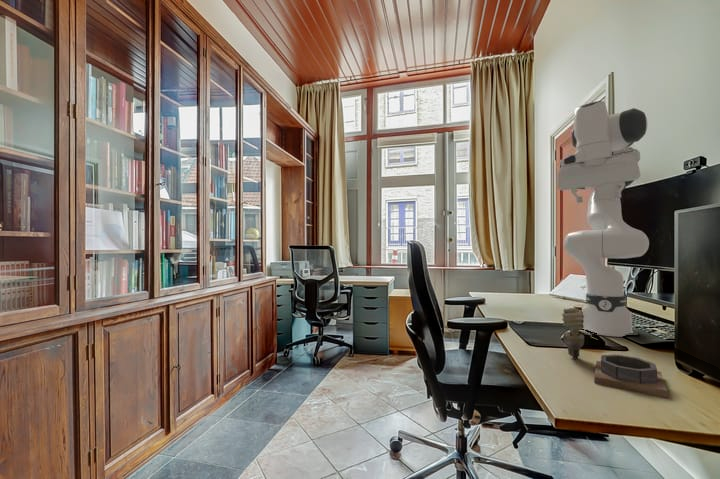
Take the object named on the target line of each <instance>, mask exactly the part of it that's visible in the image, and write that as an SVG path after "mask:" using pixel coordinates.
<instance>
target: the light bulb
mask: <svg viewBox="0 0 720 479" xmlns="http://www.w3.org/2000/svg"><path fill="white" fill-rule="evenodd" d="M561 315H562V319H561V320H562V321H563V323H562V325H563V327H567V328H568V329H569V331H565V332H563V334H562V336H563V337H562V338H563V343H564V345H565V346H566V348H567V350H568V355H569V356H571V357H572V358H573V359H578V358H579V357H580V350H581V348H582V347H583V346H584V345H585V336H584V335H583V334H582V333H579V331H581V329H583V327H584V325H583V323H584V320H583V319H584V315H583V312H582V309H578V308H576V307H571V308H563V312H562V314H561Z"/></svg>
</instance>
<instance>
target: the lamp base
mask: <svg viewBox="0 0 720 479" xmlns="http://www.w3.org/2000/svg"><path fill="white" fill-rule="evenodd" d="M600 356H601V357H600V360H599V361H598V360H596V363H595V371H594V384H599V385H602V386H603V385H605V386H608V387H613V388H618V389H623V390H627V391H628V390H629V391H634V392H639V393H642V394H648V395H652V396H657V397H661V398H667V399H668V394H669V393H668V389H667V386H666V383H665V381H664V380H665V379H664V377H663V374H662V371H659V370H658V369H657V365H656V363H653V362H651V361H648V360H645V359H642V358H639V357H636V356H635V357H634V356H628V355H624V354H623V355H622V354H614V353H613V354H603V355H602V354H601V355H600Z"/></svg>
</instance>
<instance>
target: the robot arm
mask: <svg viewBox="0 0 720 479" xmlns="http://www.w3.org/2000/svg"><path fill="white" fill-rule="evenodd" d="M573 115H574V117H573V128H572V130H571V132H570V133H571V140H572V141H571V142H572V147H574V148H575V152H574V153H572V154H569V155H568V156H565V157H563V158H561V159H560V161H559V165H560V168H559V170H558V172H557V180H556V181H557V188H558V190H560V191H562V192H563V191H571V193H572V195H573V197H575V200H576V201H575V202H576V204H580V203H583V201H584V200H583V196H579V195H578V194H577V193H579V192H578V190H587V189H593V191H592V192H591V194H590V196H589V199H588V205H587V215H586V222H587V225H588V226H589V227H590V228H591V229H586V230H584V229H583V230H582V229H581V230H578V231H572V232H569V233H567V235H566V236H565V237H564V240H563V243H562V246H563V249H564V251H565V253H566V254H567V255H568V256H570V257H571V258H572V259H574V260H575V261H576V262H577V263H578V264H579V265H580V266H581V268H582V269H583V271H584V275H585V279H586V280H585V281H586V288H587V290H586V291H587V292H586V294H585V301H586V304H585V305H584V306H583V307H581V311H582V312H583V315H584V319H583V320H584V323H583V325H584V327H583V329H588V330H591V331H593V332H595V333H597V334H596V335H599V336H606V337H618V338H620V337H623V335H624V334H628V333H633V331H632V328H633V318H632V311H630V310H629V309H628V308H627V307H626V305H627V299H626V296H625V290H624V285H625V284H624V276H623V273H621V272H620V271H618V269H615V268H613V267H611V266H610V267H609V266H607V265H605V264H604V263H603V262H602V259H632V258H640V257H642V256H644V255H645V254H646V253H647V251H648V250H649V246H650V240H649V238H648V236H647V235H646V233H645V232H644V231H642V230H640V229H637V228H634V227H632V226H630V225H629V224H627V223H626V222H625V221H624V220H623V214H622V203H621V198H622V192H623V190H625V189H626V188H627V187H629V186H630V185H632V183H633V182H635V181H636V180H638V179H639V178H640V177H641V171H640V167H639V163H638V162H640V160H641V153H640V151H639V150H638V149H635V148H632V147H631V146H632V145H633V144H634V143H636V142H640V140H641V139H642V138H643V137H644V136H645V135H646V133H647V130H648V118H647V115H646V114H645V112H644V111H642V110H640V109H637V108H633V107H632V108H630V109H626V110H624V111H621V112H617V113H614V114H610V115H609V113H608V109H607V106H606V102H605V101H603V100H598V101H592V102H589V103H586V104H582V105H580V106H578V107H577V108H575V110H574V114H573ZM623 338H624V337H623Z"/></svg>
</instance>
